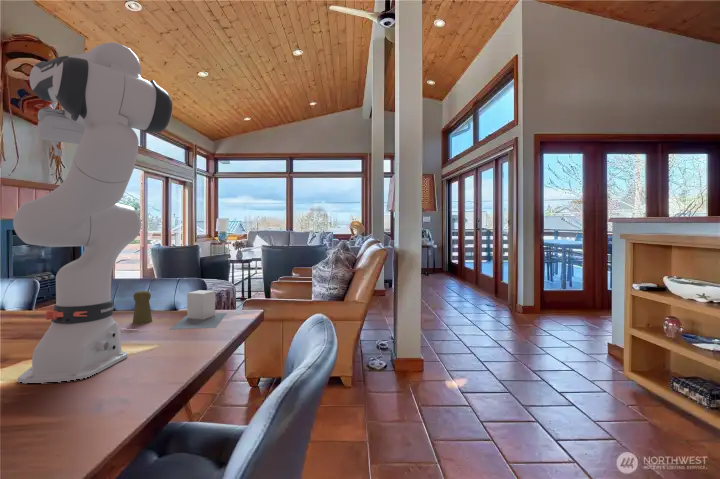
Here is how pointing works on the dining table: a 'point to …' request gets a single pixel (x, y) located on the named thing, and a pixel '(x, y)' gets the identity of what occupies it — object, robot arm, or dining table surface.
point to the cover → (200, 304)
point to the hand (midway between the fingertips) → (76, 157)
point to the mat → (199, 322)
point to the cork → (142, 308)
